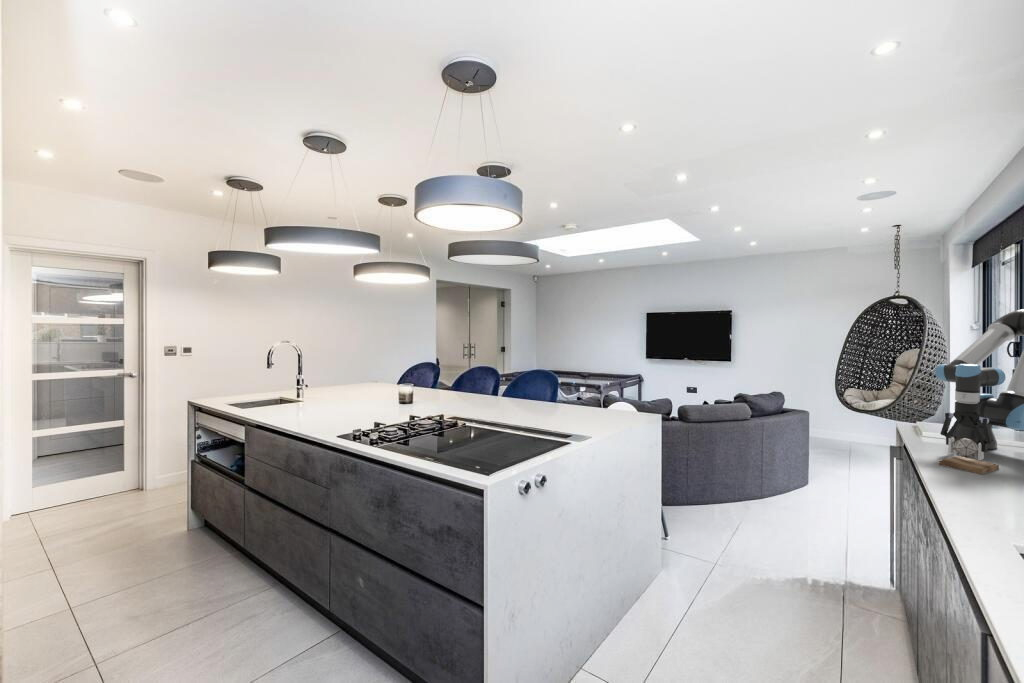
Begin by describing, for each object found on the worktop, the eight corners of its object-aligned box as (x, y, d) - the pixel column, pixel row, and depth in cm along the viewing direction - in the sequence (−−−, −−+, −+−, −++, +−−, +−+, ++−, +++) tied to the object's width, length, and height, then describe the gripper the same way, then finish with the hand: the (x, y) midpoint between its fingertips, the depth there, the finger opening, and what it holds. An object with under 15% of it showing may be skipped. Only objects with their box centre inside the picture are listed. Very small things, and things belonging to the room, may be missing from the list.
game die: (972, 466, 203) (991, 451, 196) (949, 458, 204) (967, 443, 198) (964, 450, 209) (982, 435, 203) (942, 443, 211) (959, 427, 205)
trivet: (956, 460, 200) (956, 455, 200) (998, 469, 188) (999, 464, 188) (939, 464, 195) (939, 459, 195) (981, 474, 183) (981, 469, 183)
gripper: (930, 398, 211) (929, 450, 212) (997, 407, 191) (995, 464, 192) (940, 397, 214) (938, 448, 215) (1007, 405, 194) (1005, 461, 195)
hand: (965, 456), depth 204 cm, fingers closed on game die, 9 cm apart
